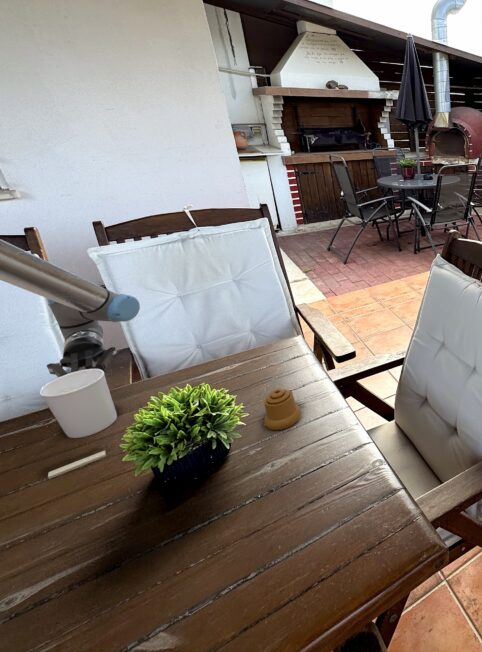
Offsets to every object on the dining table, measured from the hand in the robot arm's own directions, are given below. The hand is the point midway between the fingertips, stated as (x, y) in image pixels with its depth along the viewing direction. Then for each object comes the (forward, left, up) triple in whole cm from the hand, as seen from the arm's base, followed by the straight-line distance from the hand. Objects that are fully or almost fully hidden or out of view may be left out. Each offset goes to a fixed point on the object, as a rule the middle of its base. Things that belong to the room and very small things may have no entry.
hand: (83, 386), depth 94 cm
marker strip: (+7, -21, -6) cm, 23 cm away
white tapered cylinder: (+3, -7, -7) cm, 10 cm away
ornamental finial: (+44, -20, -7) cm, 49 cm away
